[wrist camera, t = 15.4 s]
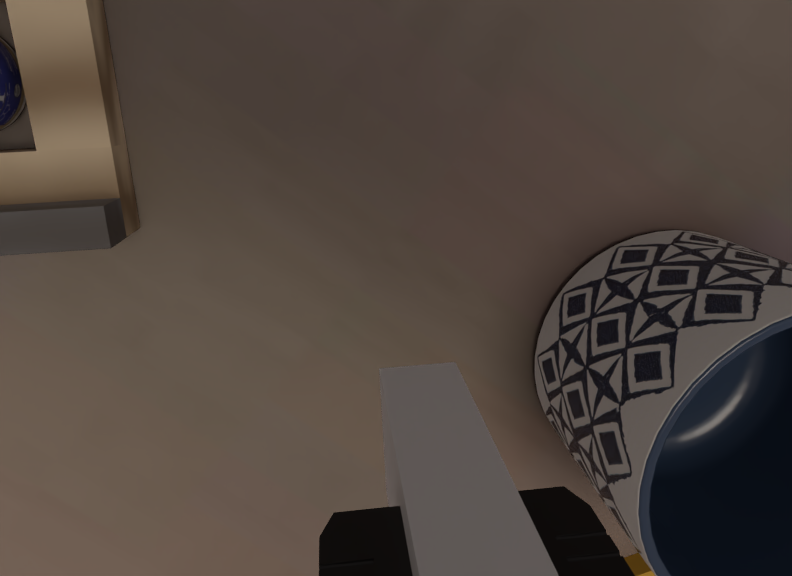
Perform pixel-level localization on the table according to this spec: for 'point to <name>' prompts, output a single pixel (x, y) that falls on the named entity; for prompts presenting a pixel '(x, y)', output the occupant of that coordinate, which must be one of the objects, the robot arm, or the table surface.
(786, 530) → the planter
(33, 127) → the jig
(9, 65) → the pill bottle
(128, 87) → the table surface
